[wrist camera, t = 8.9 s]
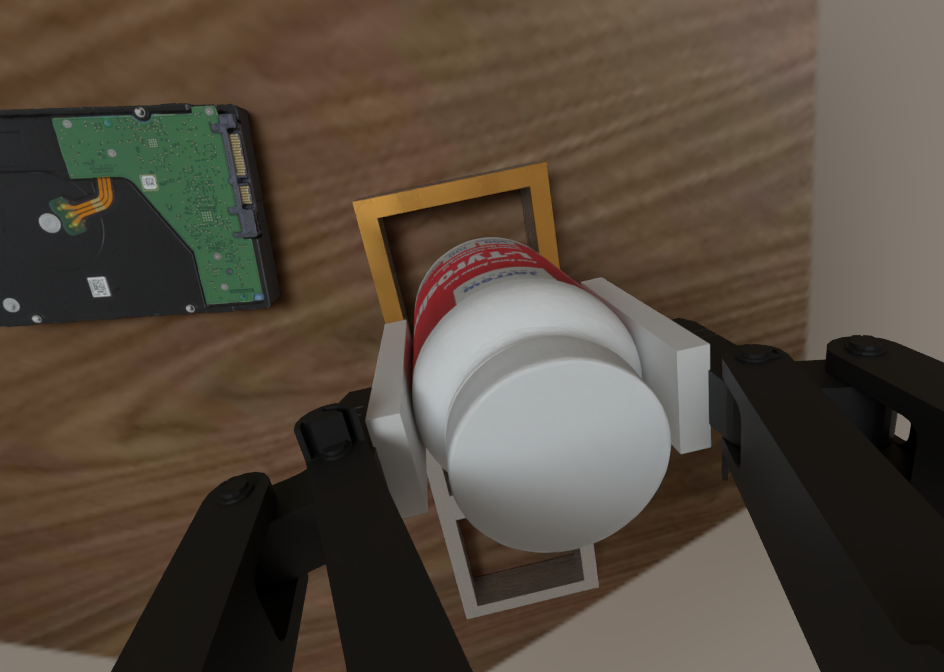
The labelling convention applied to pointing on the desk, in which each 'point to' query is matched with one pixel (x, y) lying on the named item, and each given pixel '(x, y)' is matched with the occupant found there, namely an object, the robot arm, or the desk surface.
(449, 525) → the socket rail
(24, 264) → the disk drive
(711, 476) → the desk surface
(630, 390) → the pill bottle
